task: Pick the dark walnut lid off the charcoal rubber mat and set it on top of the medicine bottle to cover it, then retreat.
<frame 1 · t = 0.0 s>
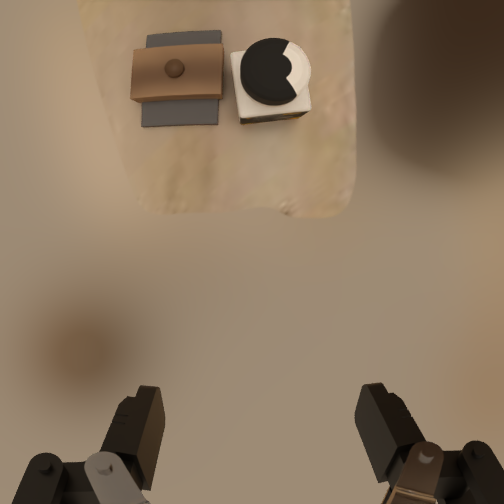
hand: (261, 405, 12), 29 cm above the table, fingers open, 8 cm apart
lid: (180, 75, 33), point 1 cm above the table, touching mat
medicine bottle: (265, 93, 35), on the table
mat: (181, 77, 34), on the table
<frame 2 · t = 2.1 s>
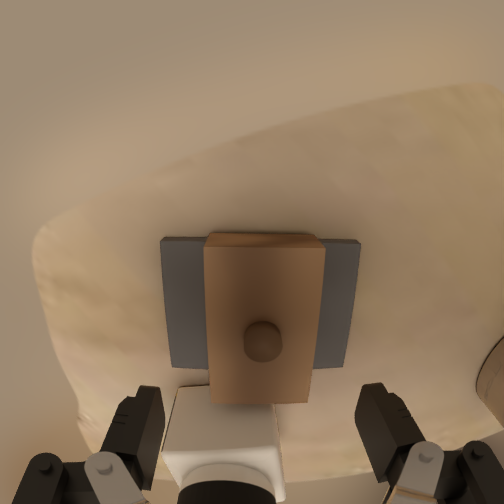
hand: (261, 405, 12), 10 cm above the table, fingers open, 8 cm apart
lid: (260, 312, 20), point 1 cm above the table, touching mat
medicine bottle: (231, 413, 24), on the table
mat: (259, 305, 21), on the table
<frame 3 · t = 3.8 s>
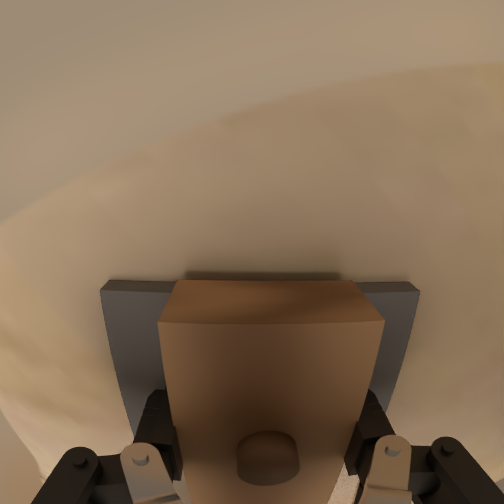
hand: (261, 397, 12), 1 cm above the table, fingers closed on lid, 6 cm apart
lid: (261, 394, 12), point 1 cm above the table, touching gripper, mat
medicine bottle: (222, 490, 16), on the table
mat: (260, 379, 13), on the table
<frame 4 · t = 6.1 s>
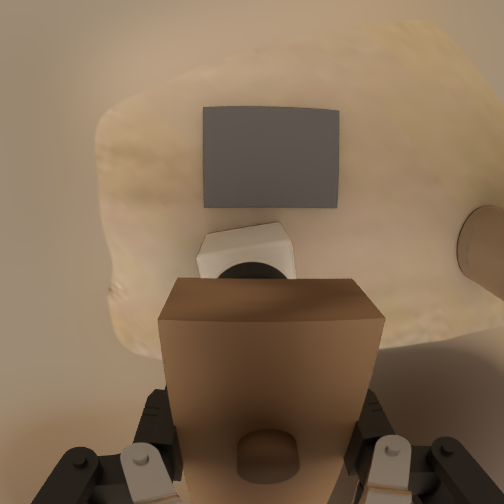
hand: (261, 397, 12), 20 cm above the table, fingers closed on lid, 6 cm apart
lid: (261, 392, 12), point 19 cm above the table, touching gripper
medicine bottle: (249, 262, 31), on the table
mat: (271, 156, 28), on the table
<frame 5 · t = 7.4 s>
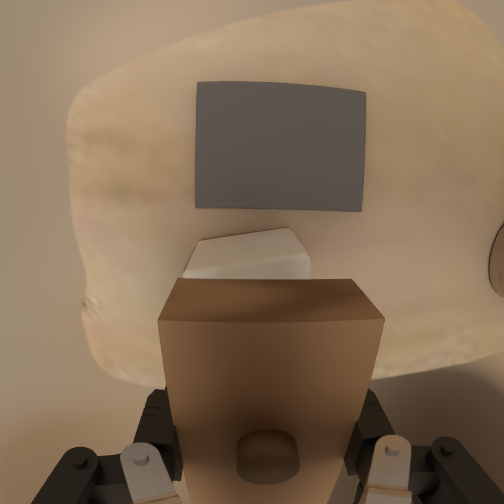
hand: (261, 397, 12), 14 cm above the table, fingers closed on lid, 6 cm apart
lid: (261, 392, 12), point 13 cm above the table, touching gripper
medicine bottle: (250, 276, 25), on the table
mat: (281, 145, 22), on the table
when the fingers open (14 cm above the table, at t = 8.5 s): lid drops 1 cm, resting on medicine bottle.
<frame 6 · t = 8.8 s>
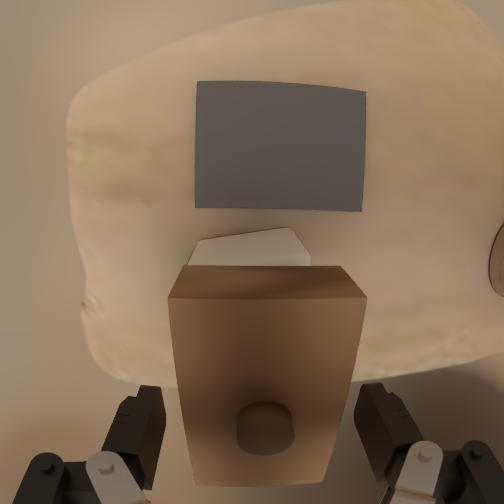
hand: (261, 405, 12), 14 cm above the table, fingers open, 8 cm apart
lid: (259, 372, 14), point 12 cm above the table, touching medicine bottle
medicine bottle: (250, 276, 25), on the table, touching lid
mat: (281, 145, 22), on the table
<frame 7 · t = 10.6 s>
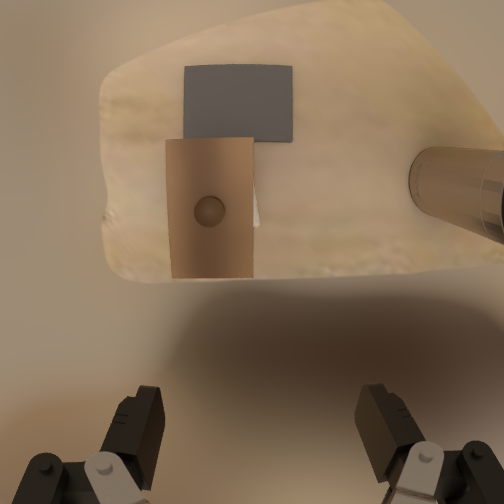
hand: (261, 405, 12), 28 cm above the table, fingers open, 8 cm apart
lid: (213, 203, 25), point 12 cm above the table, touching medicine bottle
mat: (238, 103, 34), on the table
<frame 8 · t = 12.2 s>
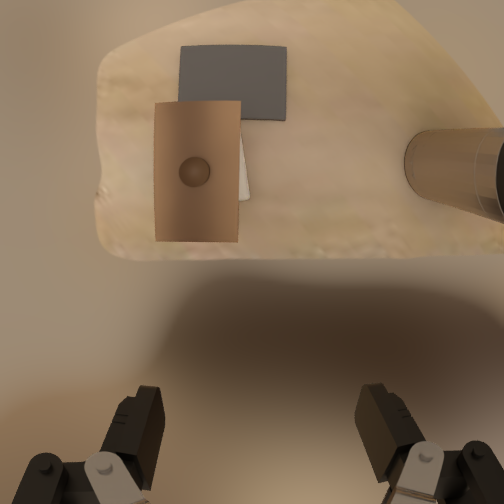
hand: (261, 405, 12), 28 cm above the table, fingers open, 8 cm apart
lid: (200, 169, 25), point 12 cm above the table, touching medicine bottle
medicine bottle: (213, 166, 36), on the table, touching lid
mat: (232, 82, 33), on the table
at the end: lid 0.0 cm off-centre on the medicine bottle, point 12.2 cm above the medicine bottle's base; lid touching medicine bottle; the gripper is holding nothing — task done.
